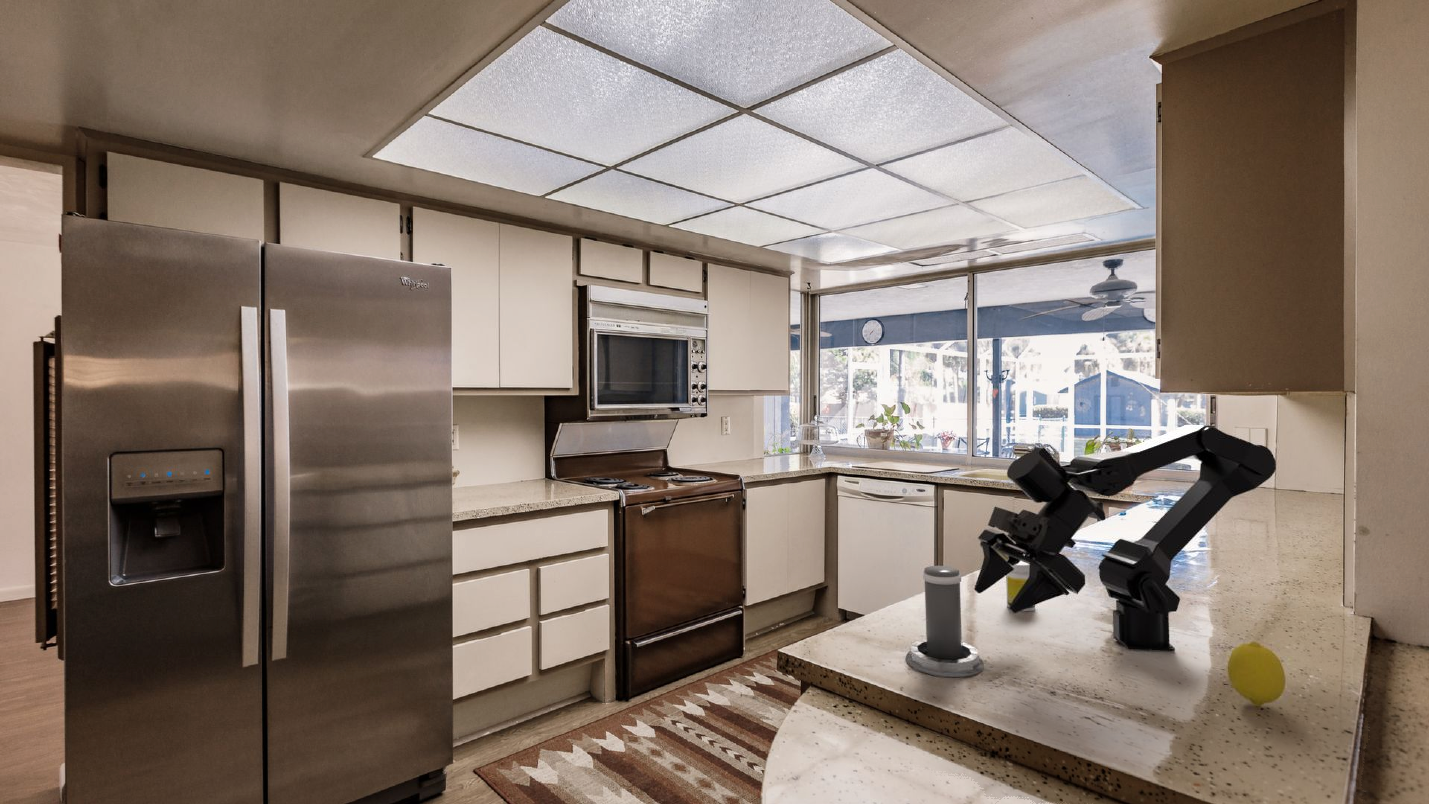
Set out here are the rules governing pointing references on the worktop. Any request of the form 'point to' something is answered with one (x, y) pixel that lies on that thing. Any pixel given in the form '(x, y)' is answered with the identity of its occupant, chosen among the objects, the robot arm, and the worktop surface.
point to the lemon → (1256, 673)
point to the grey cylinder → (943, 612)
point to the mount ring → (944, 661)
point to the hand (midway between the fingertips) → (993, 600)
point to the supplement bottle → (1017, 582)
